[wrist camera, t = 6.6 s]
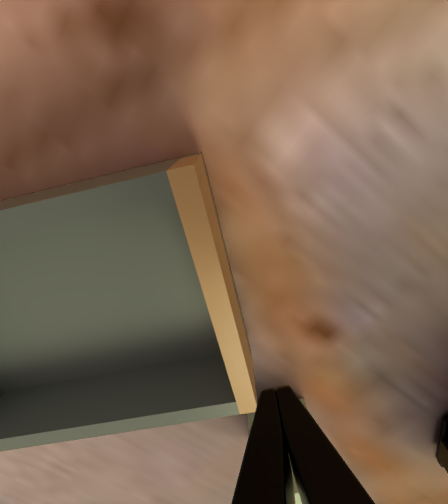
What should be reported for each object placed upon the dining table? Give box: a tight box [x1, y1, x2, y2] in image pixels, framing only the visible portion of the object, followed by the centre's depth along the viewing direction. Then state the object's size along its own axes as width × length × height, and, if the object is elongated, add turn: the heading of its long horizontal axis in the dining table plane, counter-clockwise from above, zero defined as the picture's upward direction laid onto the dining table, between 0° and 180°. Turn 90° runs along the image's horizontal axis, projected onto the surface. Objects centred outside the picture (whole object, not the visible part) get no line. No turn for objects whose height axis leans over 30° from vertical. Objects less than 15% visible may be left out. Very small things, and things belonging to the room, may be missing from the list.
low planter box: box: [0, 152, 257, 451], centre depth 16 cm, size 18×13×5 cm
